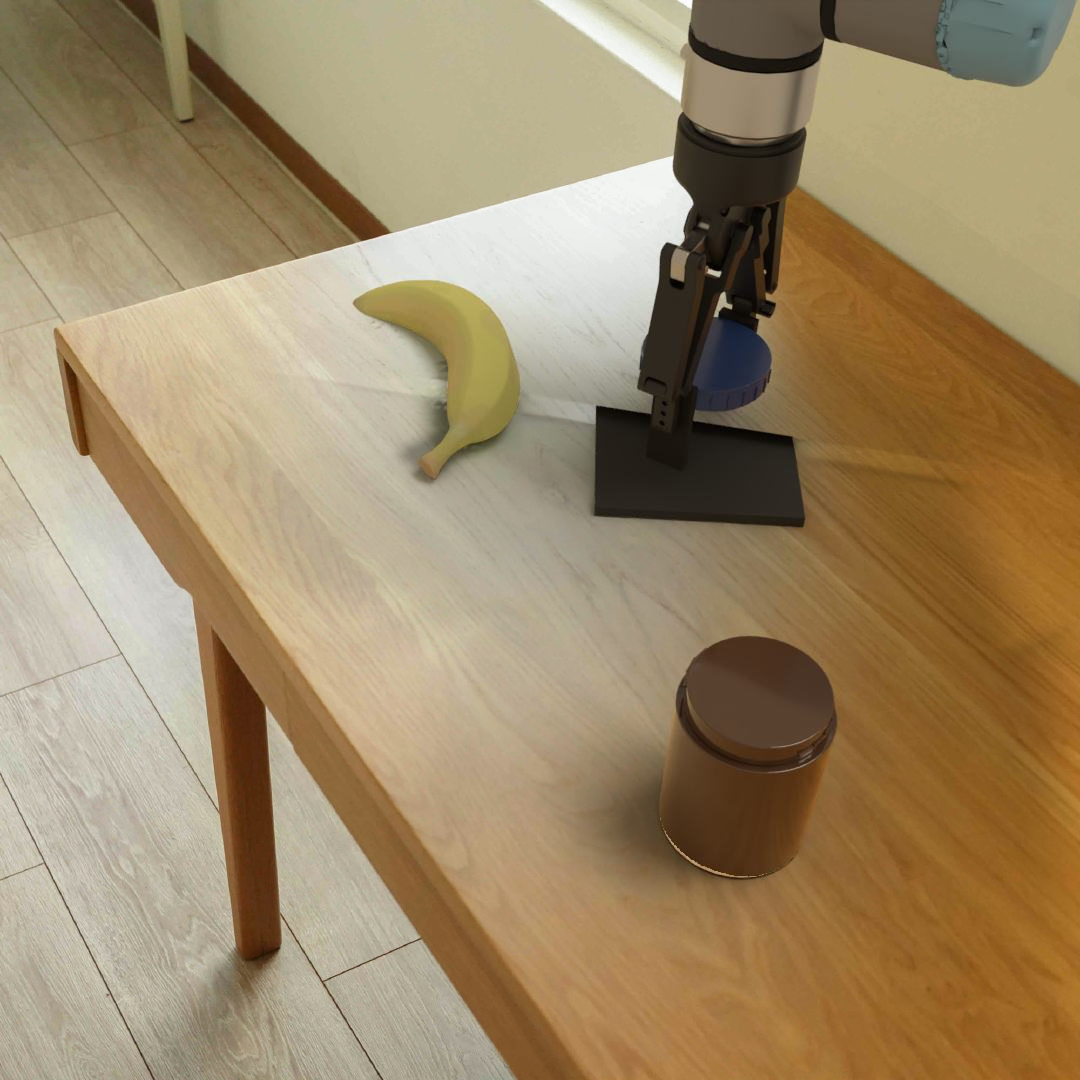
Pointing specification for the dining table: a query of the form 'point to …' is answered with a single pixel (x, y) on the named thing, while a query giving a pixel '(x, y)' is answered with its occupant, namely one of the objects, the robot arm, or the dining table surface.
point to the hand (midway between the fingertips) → (697, 425)
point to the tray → (696, 474)
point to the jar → (746, 754)
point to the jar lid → (730, 367)
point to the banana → (456, 357)
